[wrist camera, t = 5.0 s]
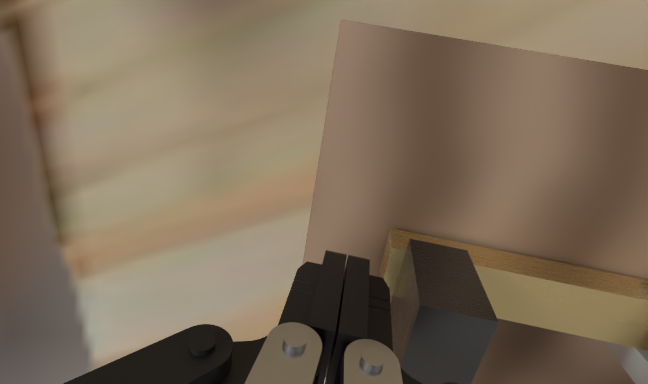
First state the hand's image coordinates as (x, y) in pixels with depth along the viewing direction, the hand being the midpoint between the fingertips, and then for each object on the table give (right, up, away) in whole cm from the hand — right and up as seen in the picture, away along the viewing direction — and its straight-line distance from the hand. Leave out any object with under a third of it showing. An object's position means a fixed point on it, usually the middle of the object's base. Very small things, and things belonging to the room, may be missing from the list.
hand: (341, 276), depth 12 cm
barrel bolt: (+10, -1, +2) cm, 10 cm away
